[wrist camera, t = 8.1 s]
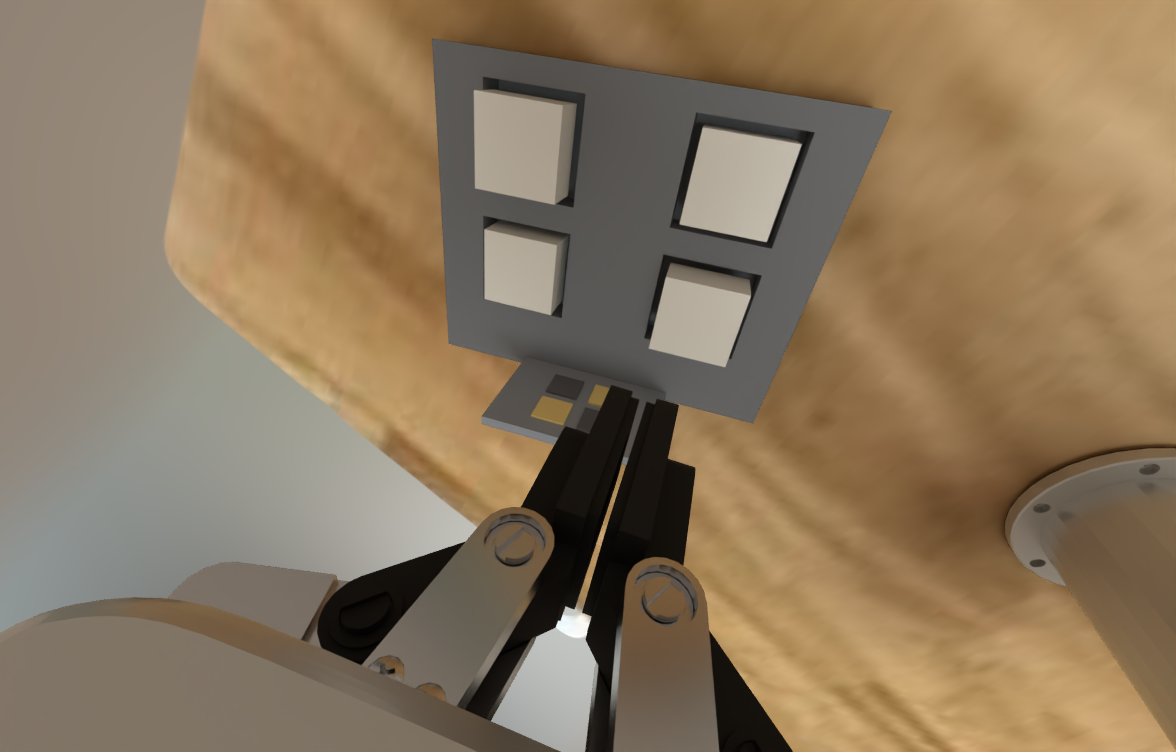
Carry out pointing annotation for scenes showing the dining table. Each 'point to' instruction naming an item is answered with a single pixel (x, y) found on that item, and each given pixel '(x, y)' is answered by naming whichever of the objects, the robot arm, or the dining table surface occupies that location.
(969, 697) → the dining table surface
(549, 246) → the button
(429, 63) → the dining table surface
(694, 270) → the button
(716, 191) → the button
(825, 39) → the dining table surface
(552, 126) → the button
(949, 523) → the dining table surface
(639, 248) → the board
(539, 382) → the card
